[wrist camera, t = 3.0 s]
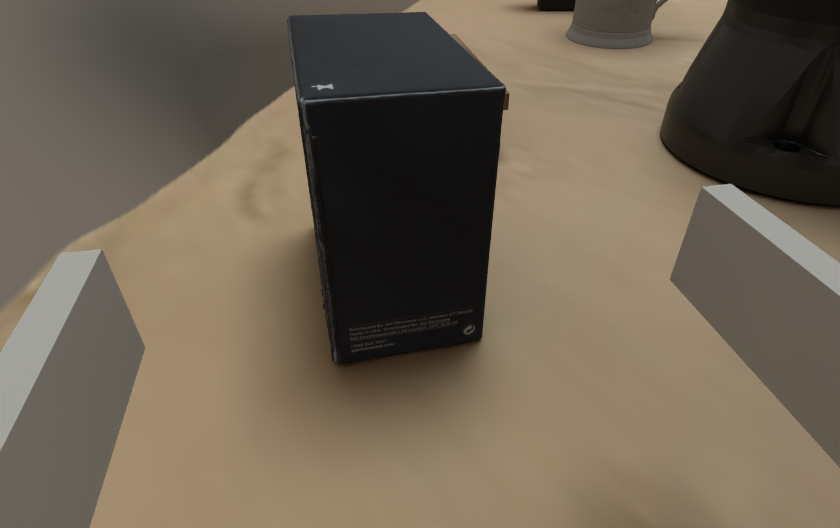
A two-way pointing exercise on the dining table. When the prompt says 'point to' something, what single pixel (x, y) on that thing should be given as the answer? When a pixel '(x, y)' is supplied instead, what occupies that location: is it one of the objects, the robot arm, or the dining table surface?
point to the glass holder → (613, 23)
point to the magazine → (556, 5)
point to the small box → (397, 178)
